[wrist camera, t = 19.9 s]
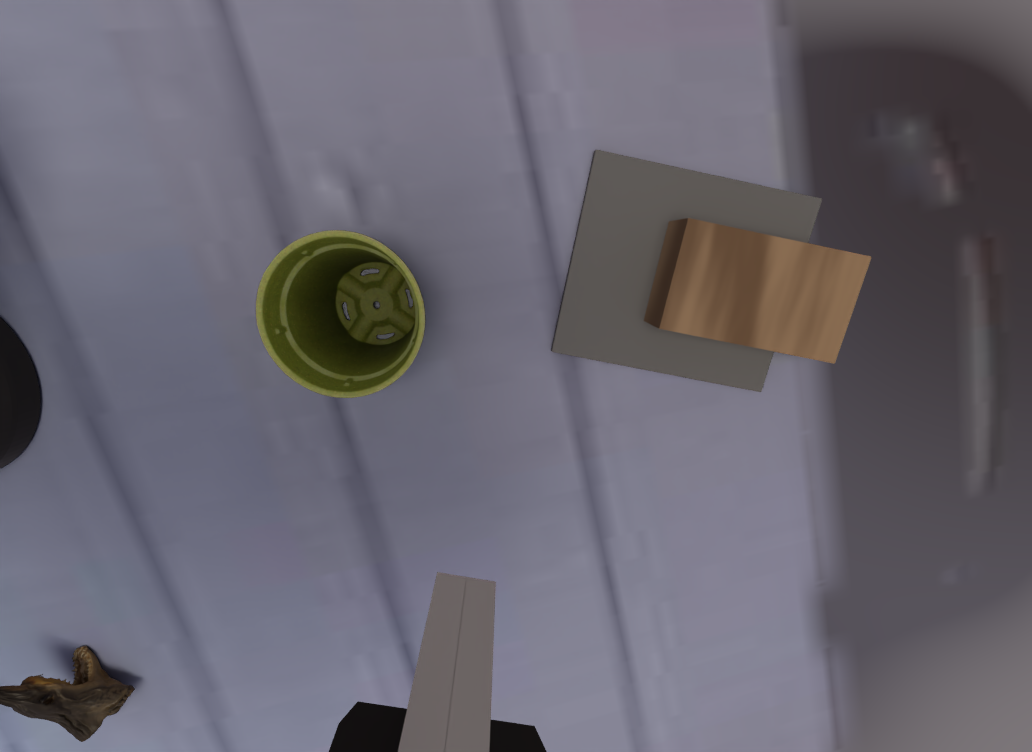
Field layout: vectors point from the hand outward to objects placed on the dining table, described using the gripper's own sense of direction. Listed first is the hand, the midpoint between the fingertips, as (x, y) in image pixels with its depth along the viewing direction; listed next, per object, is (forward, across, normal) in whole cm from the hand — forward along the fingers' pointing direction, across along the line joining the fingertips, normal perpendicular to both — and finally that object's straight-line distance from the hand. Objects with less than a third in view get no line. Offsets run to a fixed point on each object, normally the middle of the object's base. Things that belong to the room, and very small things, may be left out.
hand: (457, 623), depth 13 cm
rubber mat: (+26, +12, +10) cm, 31 cm away
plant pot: (+27, -9, +4) cm, 28 cm away
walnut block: (+24, +10, +10) cm, 28 cm away
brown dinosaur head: (+27, -28, -31) cm, 50 cm away
